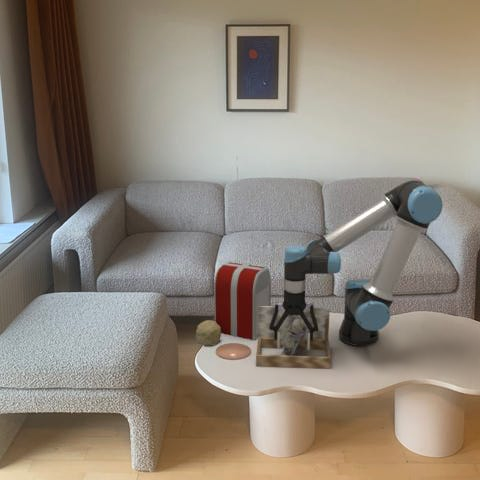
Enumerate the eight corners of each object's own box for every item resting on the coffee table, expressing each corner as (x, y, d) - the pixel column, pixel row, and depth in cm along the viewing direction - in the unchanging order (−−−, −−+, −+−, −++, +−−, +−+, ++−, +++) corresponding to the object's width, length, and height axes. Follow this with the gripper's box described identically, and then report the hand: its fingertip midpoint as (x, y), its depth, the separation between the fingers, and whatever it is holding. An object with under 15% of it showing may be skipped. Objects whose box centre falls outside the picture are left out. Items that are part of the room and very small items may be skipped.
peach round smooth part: (252, 345, 249) (252, 343, 249) (249, 360, 237) (249, 358, 237) (217, 344, 250) (217, 342, 250) (213, 359, 238) (213, 357, 238)
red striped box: (254, 342, 252) (254, 275, 245) (213, 334, 259) (212, 269, 252) (271, 327, 266) (272, 263, 259) (231, 319, 274) (231, 257, 266)
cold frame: (328, 348, 247) (329, 308, 242) (330, 368, 230) (332, 326, 226) (258, 345, 249) (258, 306, 244) (256, 366, 232) (256, 323, 228)
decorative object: (208, 355, 248) (224, 336, 245) (187, 339, 248) (202, 319, 245) (213, 347, 257) (228, 328, 254) (193, 330, 257) (208, 312, 254)
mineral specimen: (296, 318, 246) (292, 314, 243) (314, 327, 241) (310, 323, 238) (275, 352, 242) (271, 348, 239) (293, 361, 237) (289, 357, 234)
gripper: (326, 287, 235) (324, 344, 241) (262, 285, 237) (262, 342, 242) (327, 294, 228) (325, 353, 234) (261, 292, 229) (261, 351, 235)
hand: (293, 347), depth 238 cm, fingers open, 10 cm apart
